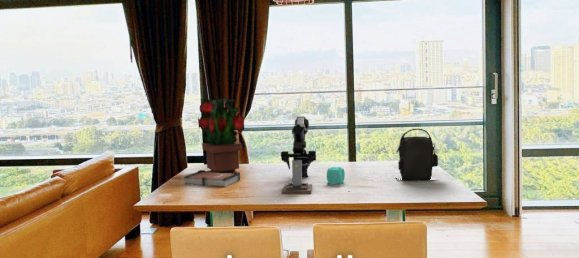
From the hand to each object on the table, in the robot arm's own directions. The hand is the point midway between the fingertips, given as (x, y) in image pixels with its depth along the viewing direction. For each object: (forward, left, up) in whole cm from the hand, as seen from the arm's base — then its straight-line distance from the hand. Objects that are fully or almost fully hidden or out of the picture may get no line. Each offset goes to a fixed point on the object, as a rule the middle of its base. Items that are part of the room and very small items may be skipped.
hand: (298, 168), depth 250 cm
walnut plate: (+3, +7, -9) cm, 12 cm away
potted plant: (+27, -61, -10) cm, 67 cm away
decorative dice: (-22, 0, -10) cm, 24 cm away
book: (+40, -32, -10) cm, 52 cm away
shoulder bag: (-65, +13, -10) cm, 67 cm away
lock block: (+3, +7, -8) cm, 11 cm away
